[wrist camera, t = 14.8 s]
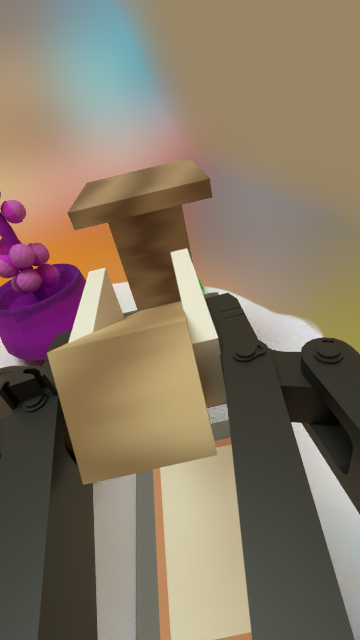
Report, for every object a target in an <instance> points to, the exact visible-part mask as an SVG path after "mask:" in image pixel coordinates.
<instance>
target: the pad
mask: <svg viewBox="0 0 360 640" xmlns="http://www.w3.org/2000/svg"><path fill="white" fill-rule="evenodd" d="M211 428H212V433H213V437H214V441H215V446H216V450H217V455H215V456H211V457H206V458H202V459H197V460H193V461H188V462H184V463H179V464H175V465H170V466H166V467H161V468H157V469H152V470H148V471H143V472H139V473H136V640H252V634H251V624H250V615H249V605H248V596H247V586H246V577H245V567H244V558H243V548H242V539H241V530H240V520H239V511H238V501H237V492H236V482H235V473H234V463H233V454H232V444H231V435H230V426H229V420H228V421H223V422H219V423H214V424H211Z"/></svg>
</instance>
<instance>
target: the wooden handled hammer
mask: <svg viewBox="0 0 360 640" xmlns="http://www.w3.org/2000/svg"><path fill="white" fill-rule="evenodd" d="M217 295H218V293H208V294H204V295H203V296H204V298H208V297H213V296H217ZM123 316H124V318H123V319H121V320H119V321H117V322H114V323H112V324H110V325H108V326H106V327H103V328H101V329H99V330H97V331H94V332H92V333H90V334H87V335H85V336H83V337H81V338H79V339H76V340H74V341H72V342H70V343H67V344H65V345H63V346H61V347H58V348H56V349H54V350H52V351H50V352H47V355H48V359H49V363H50V366H51V370H52V373H53V377H54V381H55V384H56V388H57V392H58V395H59V399H60V402H61V406H62V410H63V413H64V417H65V421H66V424H67V428H68V431H69V435H70V439H71V442H72V446H73V450H74V453H75V457H76V460H77V464H78V468H79V471H80V475H81V479H82V482H83V485H85V484H90V483H94V482H99V481H103V480H108V479H112V478H116V477H121V476H125V475H130V474H134V473H139V472H143V471H148V470H152V469H157V468H161V467H166V466H170V465H175V464H179V463H184V462H188V461H193V460H197V459H202V458H206V457H211V456H215V455H217V450H216V446H215V441H214V437H213V433H212V428H211V424H210V419H209V415H208V410H207V406H206V402H205V397H204V393H203V389H202V385H201V380H200V376H199V372H198V368H197V364H196V359H195V355H194V351H193V347H192V342H191V338H190V334H189V329H188V325H187V321H186V316H185V312H184V310H183V306H182V301H181V300H178V301H174V302H170V303H166V304H161V305H157V306H153V307H149V308H144V309H140V310H136V311H132V312H128V313H123Z"/></svg>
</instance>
